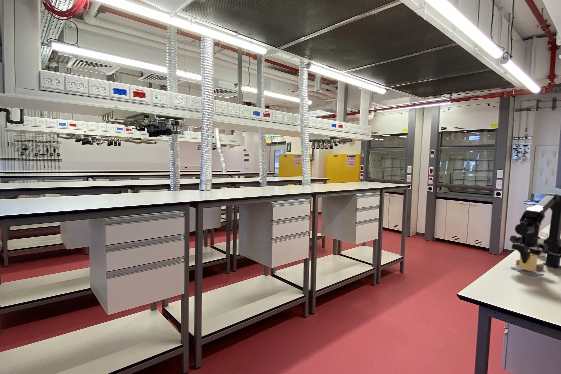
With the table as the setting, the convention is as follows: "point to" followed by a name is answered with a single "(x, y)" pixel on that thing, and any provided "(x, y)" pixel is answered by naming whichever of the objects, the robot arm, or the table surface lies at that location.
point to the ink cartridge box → (542, 241)
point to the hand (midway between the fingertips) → (527, 262)
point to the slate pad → (532, 273)
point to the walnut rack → (538, 266)
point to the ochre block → (529, 263)
